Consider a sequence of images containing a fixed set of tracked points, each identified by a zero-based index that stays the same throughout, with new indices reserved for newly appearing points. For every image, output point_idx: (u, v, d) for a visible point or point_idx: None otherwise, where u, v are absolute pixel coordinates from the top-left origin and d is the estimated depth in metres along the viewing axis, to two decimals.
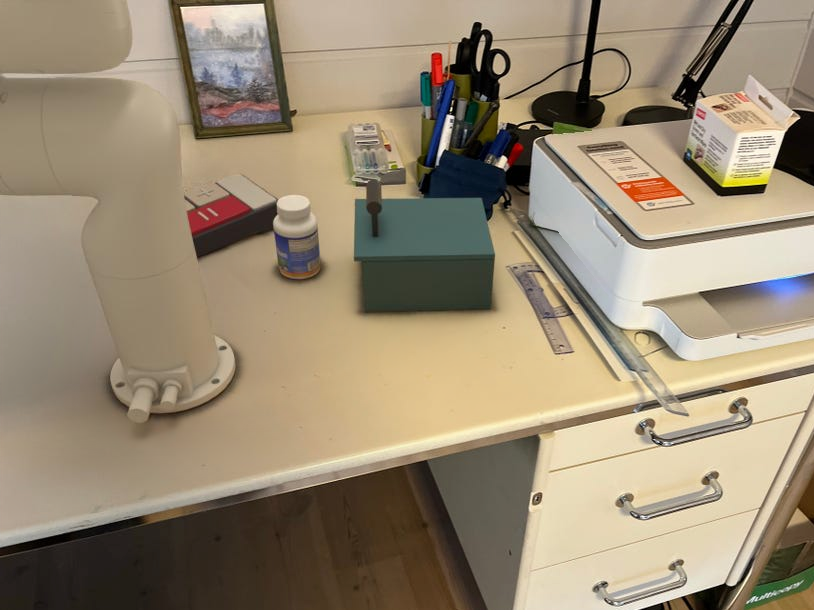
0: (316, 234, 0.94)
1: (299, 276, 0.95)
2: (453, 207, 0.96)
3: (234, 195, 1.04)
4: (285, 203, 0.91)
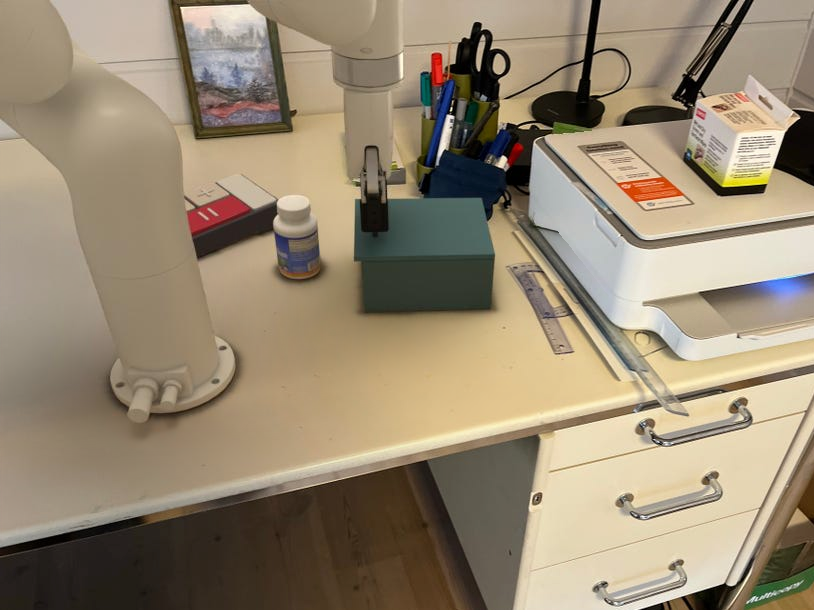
0: (316, 234, 0.94)
1: (299, 276, 0.95)
2: (453, 207, 0.96)
3: (234, 195, 1.04)
4: (285, 203, 0.91)
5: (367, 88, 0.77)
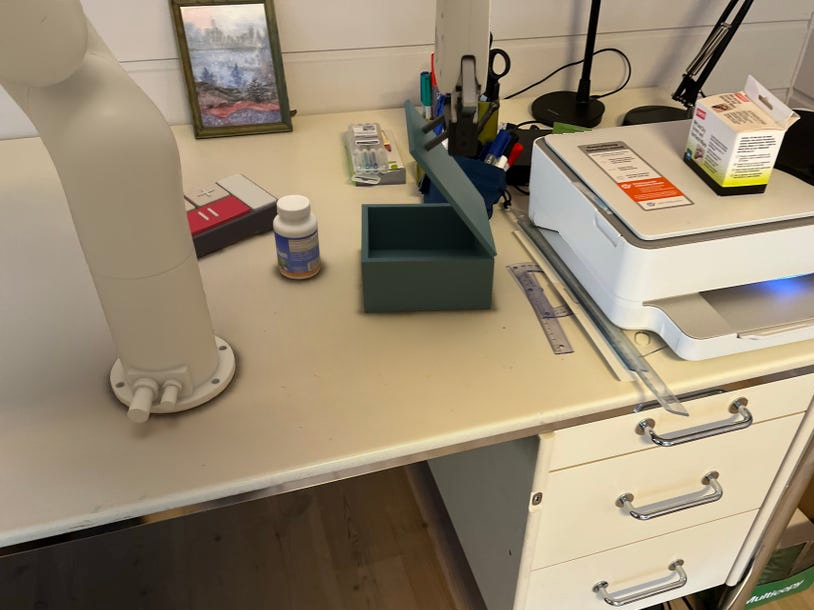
0: (316, 234, 0.94)
1: (299, 276, 0.95)
2: (469, 185, 0.94)
3: (234, 195, 1.04)
4: (285, 203, 0.91)
5: None
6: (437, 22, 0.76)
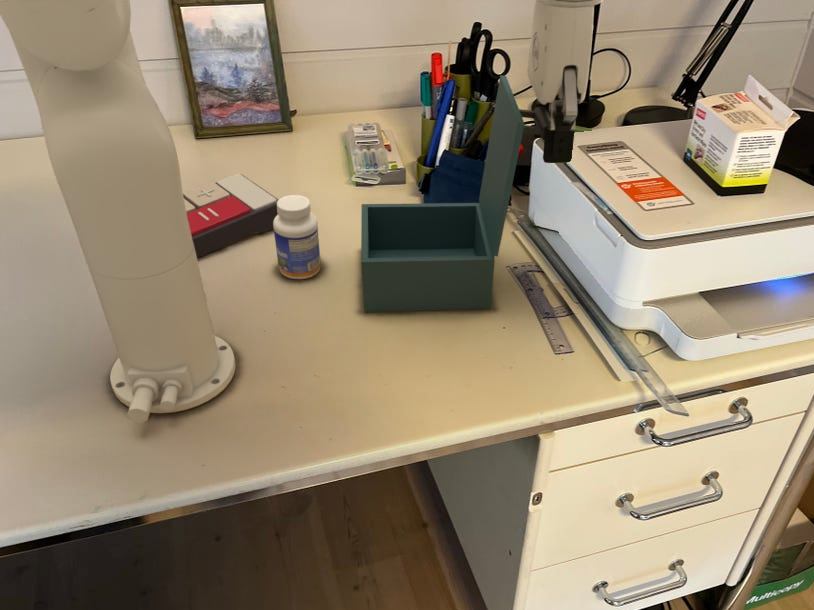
0: (316, 234, 0.94)
1: (299, 276, 0.95)
2: None
3: (234, 195, 1.04)
4: (285, 203, 0.91)
5: (573, 2, 0.74)
6: (538, 33, 0.78)
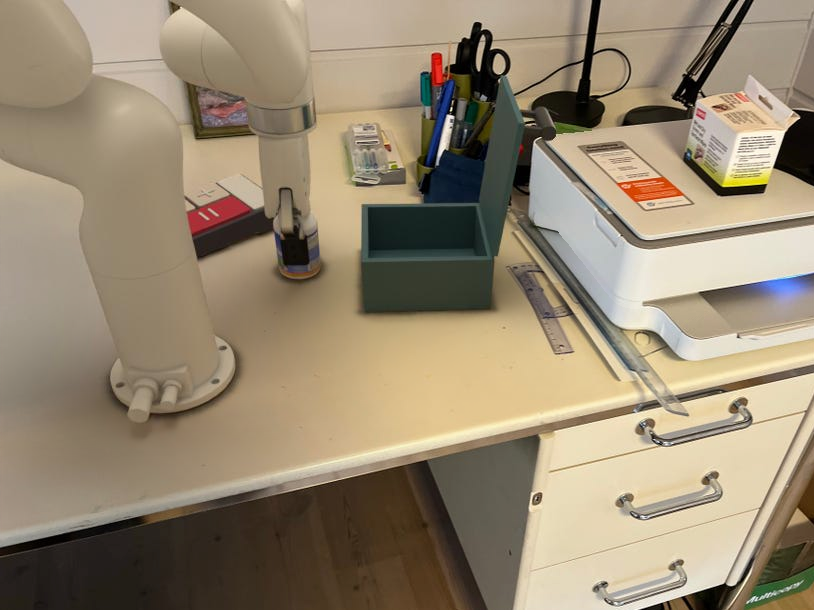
0: (316, 234, 0.94)
1: (299, 276, 0.95)
2: None
3: (235, 195, 1.04)
4: None
5: (278, 135, 0.82)
6: None
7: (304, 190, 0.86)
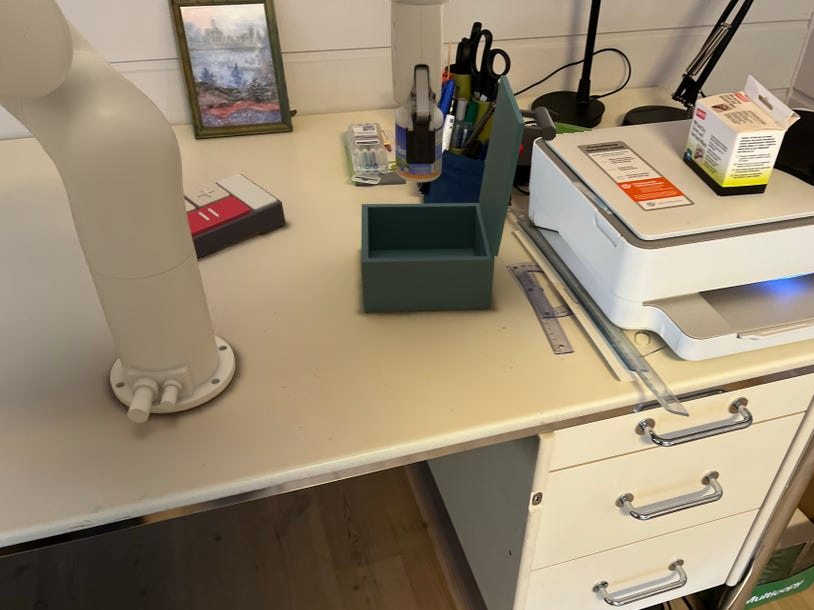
0: (442, 129, 0.84)
1: (421, 178, 0.85)
2: None
3: (235, 195, 1.04)
4: None
5: (419, 0, 0.72)
6: (391, 31, 0.76)
7: (441, 69, 0.76)
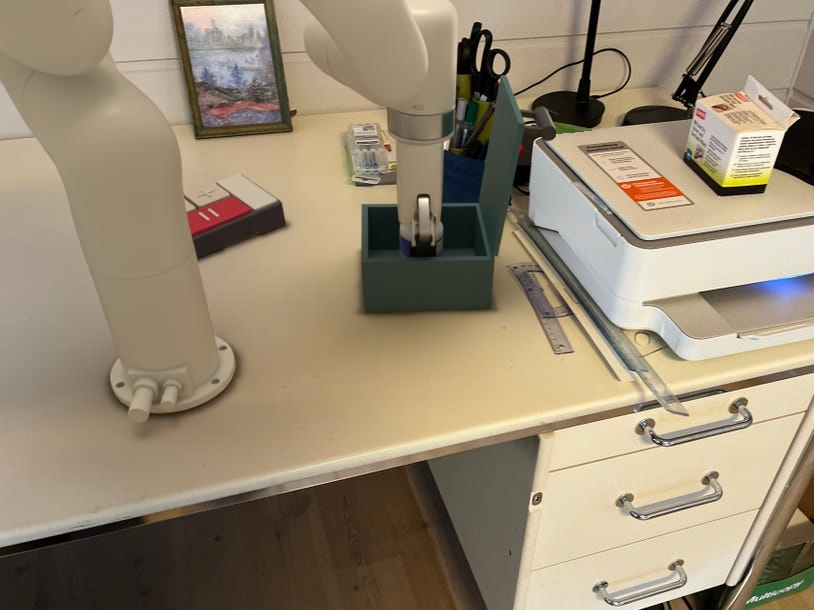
0: (442, 239, 0.93)
1: None
2: None
3: (235, 195, 1.04)
4: None
5: (421, 141, 0.81)
6: (396, 162, 0.85)
7: (441, 196, 0.85)
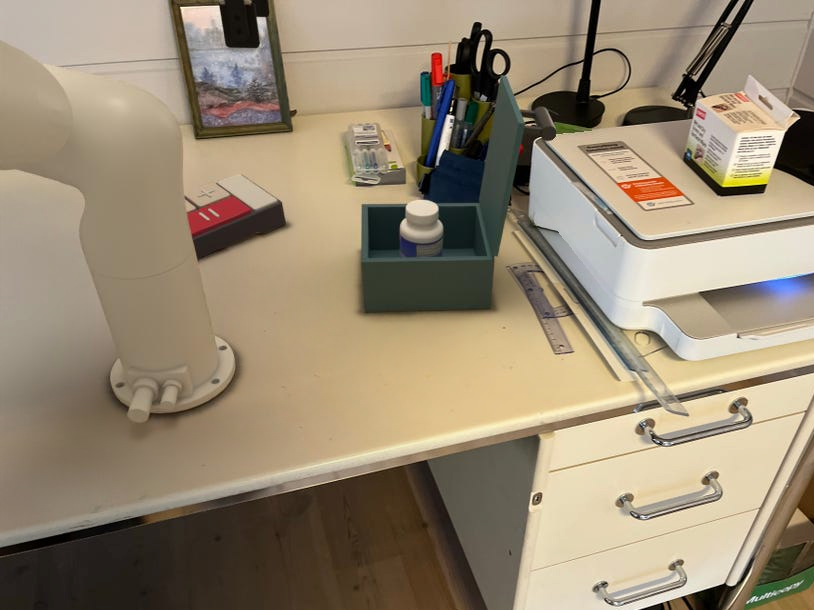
0: (442, 239, 0.93)
1: None
2: None
3: (235, 196, 1.04)
4: (414, 208, 0.90)
5: None
6: None
7: None
